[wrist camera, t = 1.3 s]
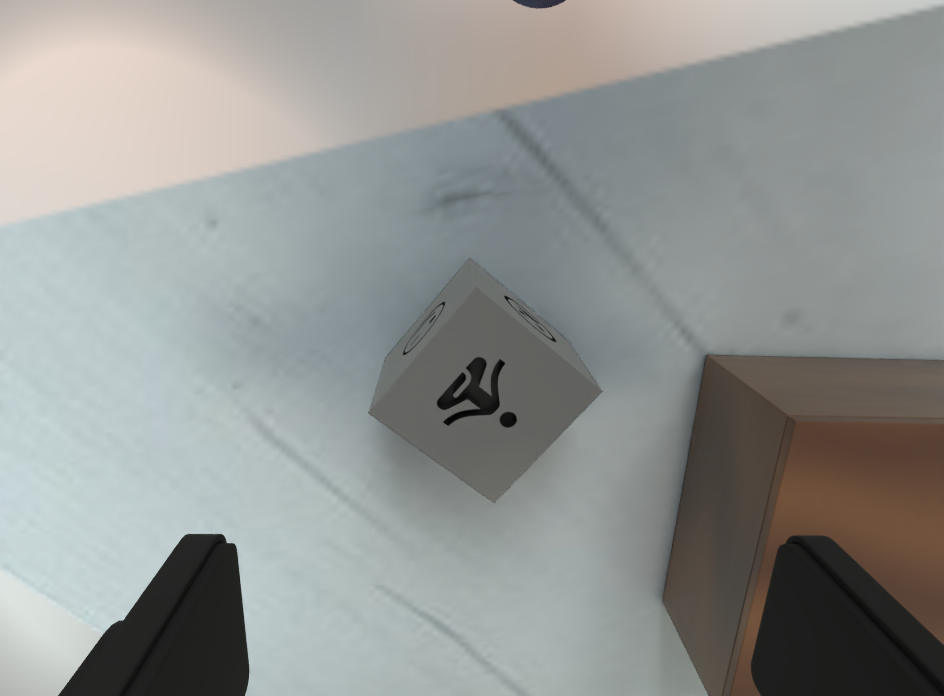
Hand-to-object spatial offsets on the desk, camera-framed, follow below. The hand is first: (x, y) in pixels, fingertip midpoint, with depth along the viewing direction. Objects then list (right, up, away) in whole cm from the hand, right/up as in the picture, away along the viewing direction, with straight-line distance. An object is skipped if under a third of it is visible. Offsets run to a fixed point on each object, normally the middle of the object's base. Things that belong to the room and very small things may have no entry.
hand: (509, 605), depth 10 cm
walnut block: (+13, -2, +15) cm, 20 cm away
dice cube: (0, +4, +12) cm, 13 cm away
